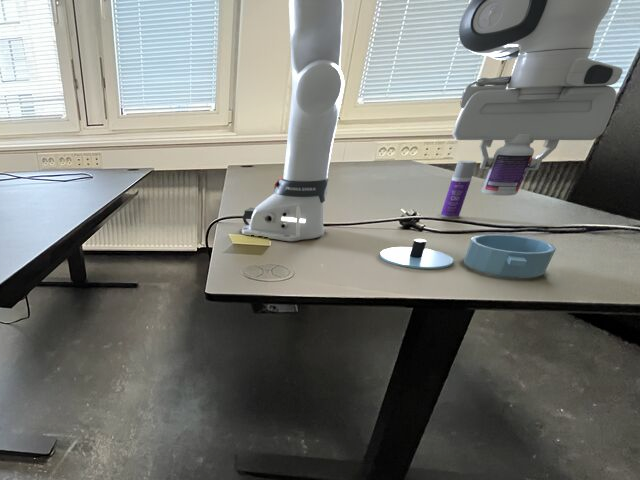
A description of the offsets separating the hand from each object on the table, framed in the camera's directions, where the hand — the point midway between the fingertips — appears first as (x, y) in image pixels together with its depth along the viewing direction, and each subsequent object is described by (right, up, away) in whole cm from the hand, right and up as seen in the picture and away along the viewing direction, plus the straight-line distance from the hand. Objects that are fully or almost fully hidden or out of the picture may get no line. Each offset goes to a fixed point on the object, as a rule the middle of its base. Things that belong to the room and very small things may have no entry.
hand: (507, 169), depth 72 cm
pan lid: (-5, -11, +18) cm, 22 cm away
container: (+25, +9, +50) cm, 57 cm away
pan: (+9, -15, +13) cm, 22 cm away
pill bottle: (0, -4, +2) cm, 4 cm away
